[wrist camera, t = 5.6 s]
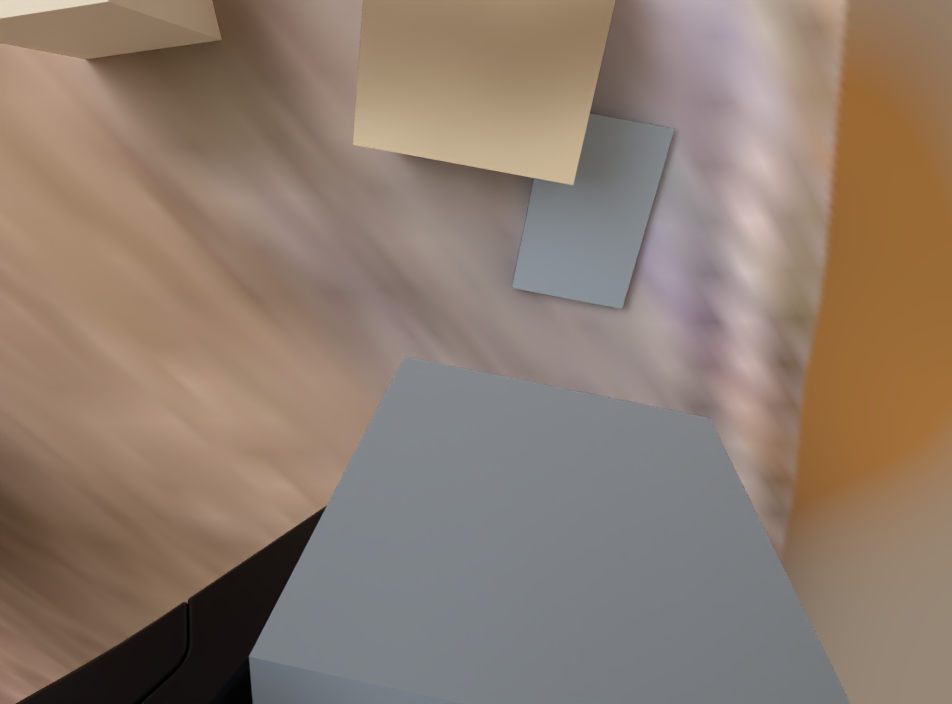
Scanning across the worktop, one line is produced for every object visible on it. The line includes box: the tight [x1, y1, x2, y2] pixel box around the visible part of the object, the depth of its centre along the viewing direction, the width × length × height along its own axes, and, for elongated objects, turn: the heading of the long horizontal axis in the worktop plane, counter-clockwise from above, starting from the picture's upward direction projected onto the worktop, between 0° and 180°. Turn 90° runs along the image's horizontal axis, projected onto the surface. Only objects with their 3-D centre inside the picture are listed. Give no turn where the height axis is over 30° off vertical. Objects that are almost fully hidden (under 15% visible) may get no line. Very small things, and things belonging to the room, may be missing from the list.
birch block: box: [353, 0, 616, 185], centre depth 14 cm, size 6×6×4 cm
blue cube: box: [249, 356, 850, 704], centre depth 7 cm, size 5×5×5 cm
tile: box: [512, 113, 674, 309], centre depth 18 cm, size 6×4×1 cm, turn 170°
